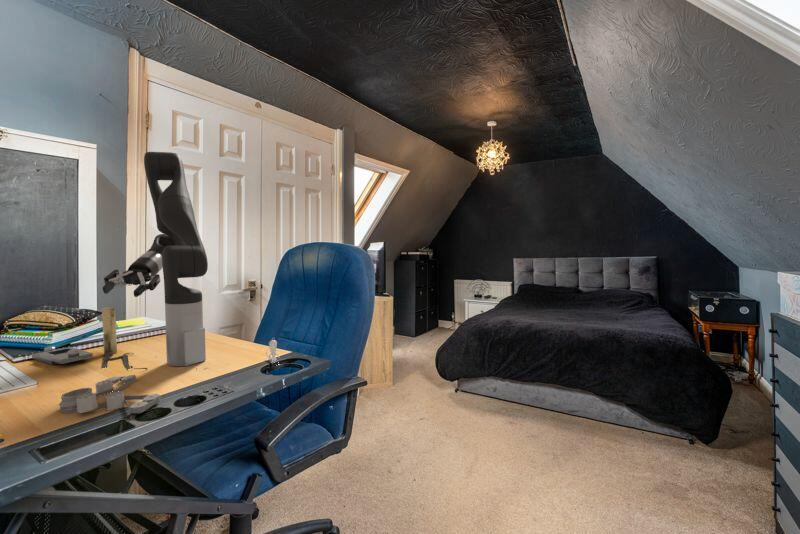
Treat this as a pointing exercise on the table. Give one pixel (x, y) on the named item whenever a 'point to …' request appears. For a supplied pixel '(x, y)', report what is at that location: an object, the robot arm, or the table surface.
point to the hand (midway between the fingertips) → (120, 292)
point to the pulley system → (87, 401)
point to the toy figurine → (272, 350)
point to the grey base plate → (61, 355)
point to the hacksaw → (124, 356)
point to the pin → (109, 330)
